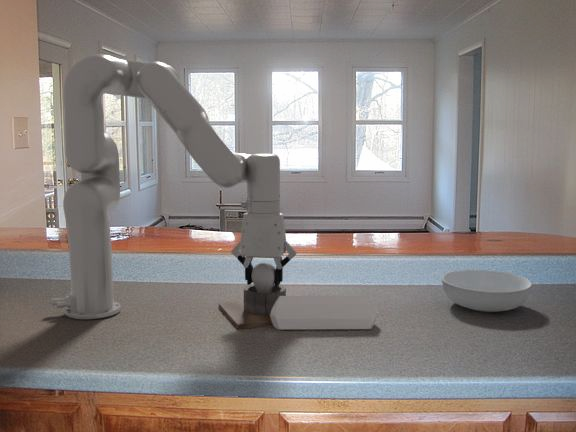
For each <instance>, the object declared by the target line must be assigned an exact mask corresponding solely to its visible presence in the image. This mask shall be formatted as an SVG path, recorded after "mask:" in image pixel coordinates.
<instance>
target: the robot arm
mask: <svg viewBox="0 0 576 432" xmlns="http://www.w3.org/2000/svg"><path fill="white" fill-rule="evenodd" d="M104 94H107V95H115V96H124V97H131V98H139V99H146V100H147V102H148V103H149V105H151V106H152V107H153V109H154V110H155V111H156V113H158V114H159V116H160V117H161V119H163V120H164V122H166V124H167V125H168V126H169V127H170V129H171V130H172V131H173V132H174V133H175V135H176V136H177V139H178V140H179V141H180V143H181V144H182V145H183V147H185V150H186V151H187V152H188V153H189V155H190V156H191V158H192V159H193V161H195V163H196V164H197V165H198V167H199V168H201V170H202V171H203V172H204V174H205V175H206V176H207V177H208V178H209V179H210V181H212V182H213V183H214V184H215V185H217V186H218V187H220V188H223V189H230V188H233V187H236V186H237V185H240V184H246V200H245V201H242V202H241V203H240V207H241V209H245V210H246V212H244V213H243V216H242V222H241V231H240V233H241V234H240V241H239V242H238V243H237V244H236V245H235V246H234V247H233V248H232V250H231V251H230V253H231V254H232V255H233V256H234V257H235V258H236V259H237V260H238V261H239V263H240V264H242V266H243V268H244V280H245V281H246V284H247V286H250V285H252V284H253V281H252V279H251V272H252V270H253V268H254V266H253V264H252V263H253V262H252V261H253V259H254V258H258V259H259V258H260V259H261V258H262V259H273V260H274V263H275V285H276V286H279V285H281V283H282V282H283V279H284V278H283V277H284V276H283V275H284V274H283V269H284V267H285V266H286V265H287V264H288V263H289V262H290V261H291V260H292V259H293V258H294V257H296V255H297V254H298V253H297V250H295V249H294V248H293V247H292V245H290V243H289V242H288V241H287V237H286V234H287V233H286V225H285V219H284V214H283V213H281V160H280V158H279V155H277V154H274V153H252V154H250V153H249V154H247V153H240V152H233V151H231V150H230V148H229V147H228V146H227V145H226V144H225V143H224V141H223V140H222V138H220V136H219V135H218V134H217V132H216V131H215V129H214V127H212V123H211V122H210V120H209V117H208V113H207V112H206V110H205V109H204V107H203V106H202V104H201V103H199V101H198V100H197V99H196V98H195V97H194V96H193V95H192V93H191V92H190V91H189V90H188V88H187V87H186V86H185V85H184V84H183V82H182V80H181V77H180V75H179V73H178V72H177V70H176V69H175V68H174V67H172V65H168V64H166V63H165V62H161V61H149V62H143V61H142V62H140V61H134V60H128V59H127V60H126V59H121V58H117V57H115V56H112V55H110V54H104V53H97V54H96V53H94V54H91V55H88V56H85V57H83V58H81V59H80V60H78V61H77V62H76V63H75V64H73V66H71V67H70V69H69V71H68V72H67V75H66V77H65V80H64V83H63V105H64V106H63V108H64V109H63V110H64V138H65V158H66V162H67V164H68V166H69V167H70V168H71V169H72V170H73V171H74V172H76V173H80V179H81V180H77V181H75V182H74V183H73V184H71V185H70V186H69V187H68V188H67V190H66V192H65V194H64V197H63V202H62V204H63V214H64V218H65V223H66V230H67V238H68V241H67V242H68V256H69V273H70V292H69V295H66V296H65V297H61V298H60V297H55V298H51V303H50V304H51V307H52V308H53V307H56V308H57V309H60V308H62V309H63V308H65V310H64V312H65V316H66V317H68V318H71V319H75V320H96V319H103V318H108V317H111V316H115V315H116V314H118V313H119V312H121V308H122V307H121V303H119V302H117V301H114V297H115V296H114V279H113V276H114V275H113V258H112V254H113V252H112V240H111V239H112V237H111V229H110V228H111V227H110V223H109V219H108V214H109V213H111V212H112V211H113V210H114V209H116V208H117V206H118V204H119V202H120V199H121V198H120V197H121V177H120V175H121V174H120V156H119V155H120V154H119V149H118V146H117V143H116V141H115V140H114V138H113V137H111V136H110V135H109V134H108V133H105V127H104V122H105V121H104V120H105V117H104V109H103V104H102V97H103V95H104ZM286 252H287V254H288V255H286V256H285V257H284V258H283V255H284V254H285V253H286Z"/></svg>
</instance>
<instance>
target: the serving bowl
mask: <svg viewBox="0 0 576 432" xmlns="http://www.w3.org/2000/svg"><path fill="white" fill-rule="evenodd" d="M441 282H442V289H443V291H444V293H445V295H446V296H447V297H448V299H450V300H451V301H452V302H453V303H454V304H456V305H458V306H461V307H464V308H467V309H470V310H471V311H476V312H484V313H495V312H496V313H497V312H504V311H511V310H514V309H516V308H518V307H520V306H522V305H523V304H524V303H525V302H526V301H527V300H528V298H529V297H530V295H531V292H532V288H533V284H532V281H530V279H528V278H526V277H523V276H521V275H518V274H515V273H509V272H504V271H498V270H497V271H496V270H491V269H490V270H489V269H488V270H487V269H462V270H453V271H449V272H446V273H445V274H443V275H442V277H441Z"/></svg>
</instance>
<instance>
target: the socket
mask: <svg viewBox="0 0 576 432" xmlns="http://www.w3.org/2000/svg"><path fill="white" fill-rule="evenodd" d="M279 296H287V288H286V287H285V286H284V285H281V284H279V286H276V285H275V284H274V286H273V288H272V290H271V293H257V290H256V287H255V285H254V283H252V284H250V285H247V286H245V287H244V288H243V300H238V301H225V302H224V301H223V302H218V308H219V309H220V310H221V312H222V313H223V314H224V315H225V317H227V318H228V320H229V321H230V322H231V323H232V324H233V325H234V327H235V328H236V329H237V330H241V329H250V328H261V327H268V326H274V325H273V324H272V321H271V317H270V313H271V310H272V308H273V306H274V304H275V302H276V300H277V299H278V298H279Z"/></svg>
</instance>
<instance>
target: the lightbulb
mask: <svg viewBox="0 0 576 432" xmlns="http://www.w3.org/2000/svg"><path fill="white" fill-rule="evenodd" d="M275 269H276V266H274V265H273V264H271V263H270V262H263V261H262V262H259V263H257V264H256V265H255V266H253V270H252V272H251V279H252V281H253V282H252V284H254V285H255V287H256V290H257V293H271V290H272V288H273V286H274V284H275Z"/></svg>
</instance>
